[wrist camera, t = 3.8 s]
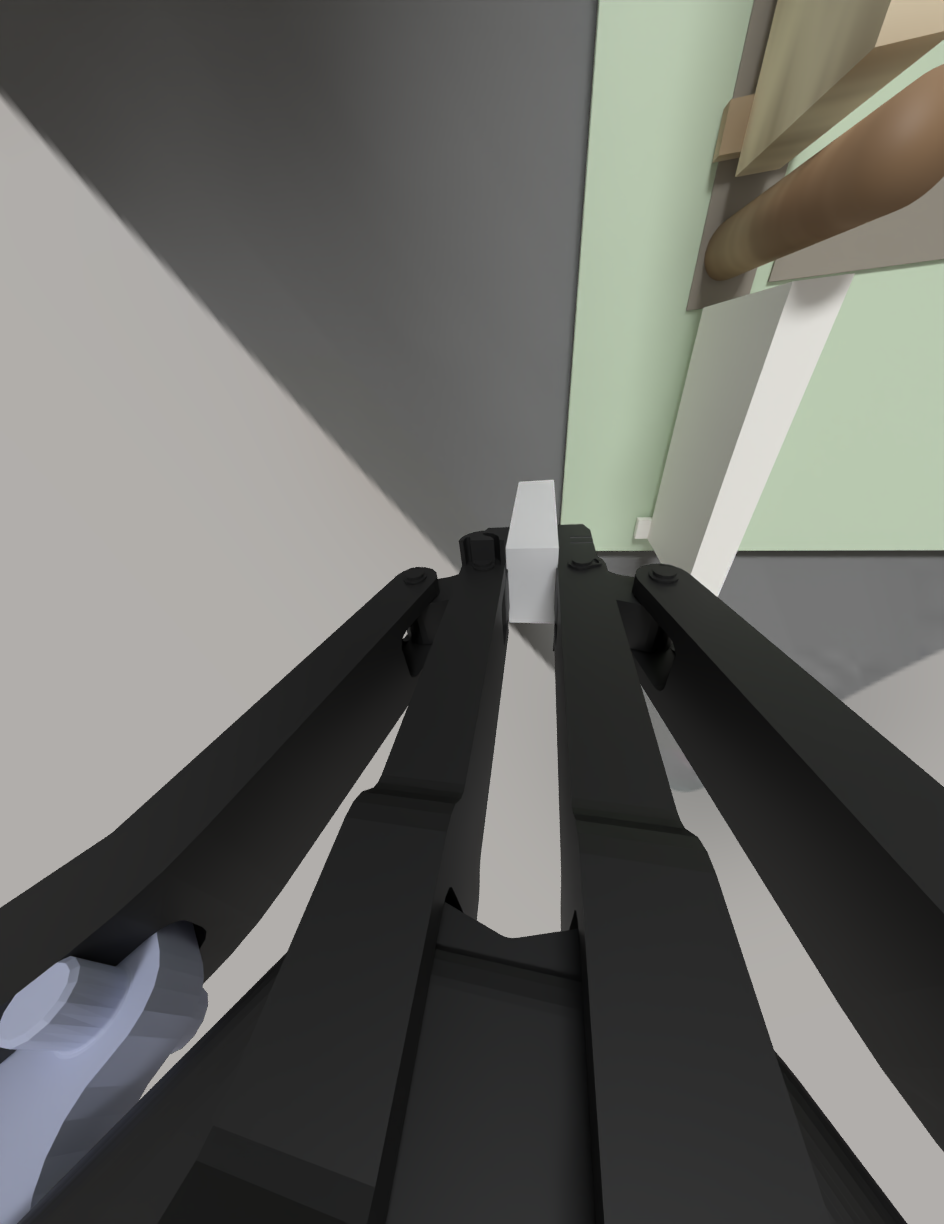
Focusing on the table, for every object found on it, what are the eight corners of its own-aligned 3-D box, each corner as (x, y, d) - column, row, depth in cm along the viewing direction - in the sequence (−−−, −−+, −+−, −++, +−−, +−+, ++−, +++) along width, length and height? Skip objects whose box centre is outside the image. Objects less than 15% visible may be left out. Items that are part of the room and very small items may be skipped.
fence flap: (681, 310, 13) (763, 285, 8) (754, 302, 12) (887, 268, 7) (633, 535, 18) (665, 599, 13) (682, 535, 17) (733, 601, 13)
